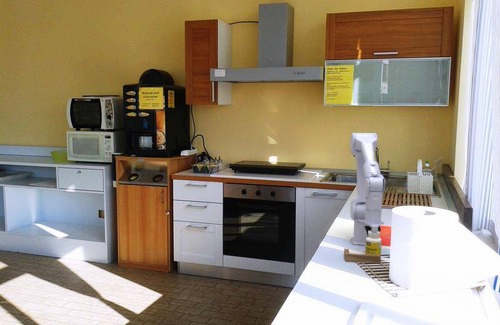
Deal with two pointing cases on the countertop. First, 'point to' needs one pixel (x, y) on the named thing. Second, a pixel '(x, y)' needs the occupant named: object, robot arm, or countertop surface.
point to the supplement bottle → (373, 243)
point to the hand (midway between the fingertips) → (371, 245)
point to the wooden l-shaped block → (361, 257)
